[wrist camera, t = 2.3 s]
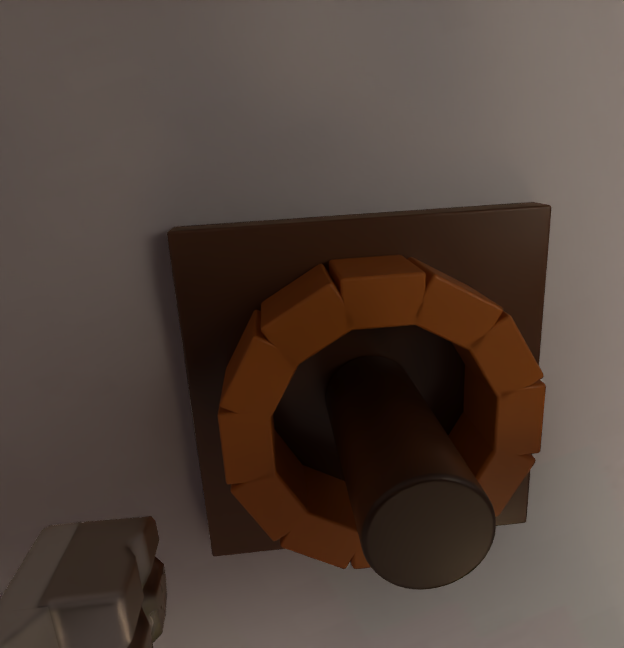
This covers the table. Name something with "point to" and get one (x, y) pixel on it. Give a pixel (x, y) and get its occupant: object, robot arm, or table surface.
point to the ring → (326, 327)
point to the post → (363, 376)
